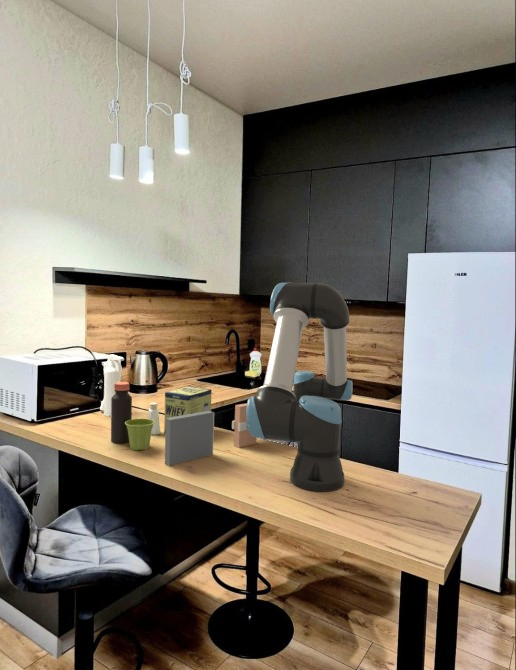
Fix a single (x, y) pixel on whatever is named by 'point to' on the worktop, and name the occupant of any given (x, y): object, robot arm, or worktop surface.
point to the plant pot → (139, 433)
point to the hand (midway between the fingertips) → (236, 426)
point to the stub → (244, 436)
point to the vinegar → (120, 412)
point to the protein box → (186, 401)
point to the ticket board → (189, 437)
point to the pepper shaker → (154, 418)
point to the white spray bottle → (110, 382)
